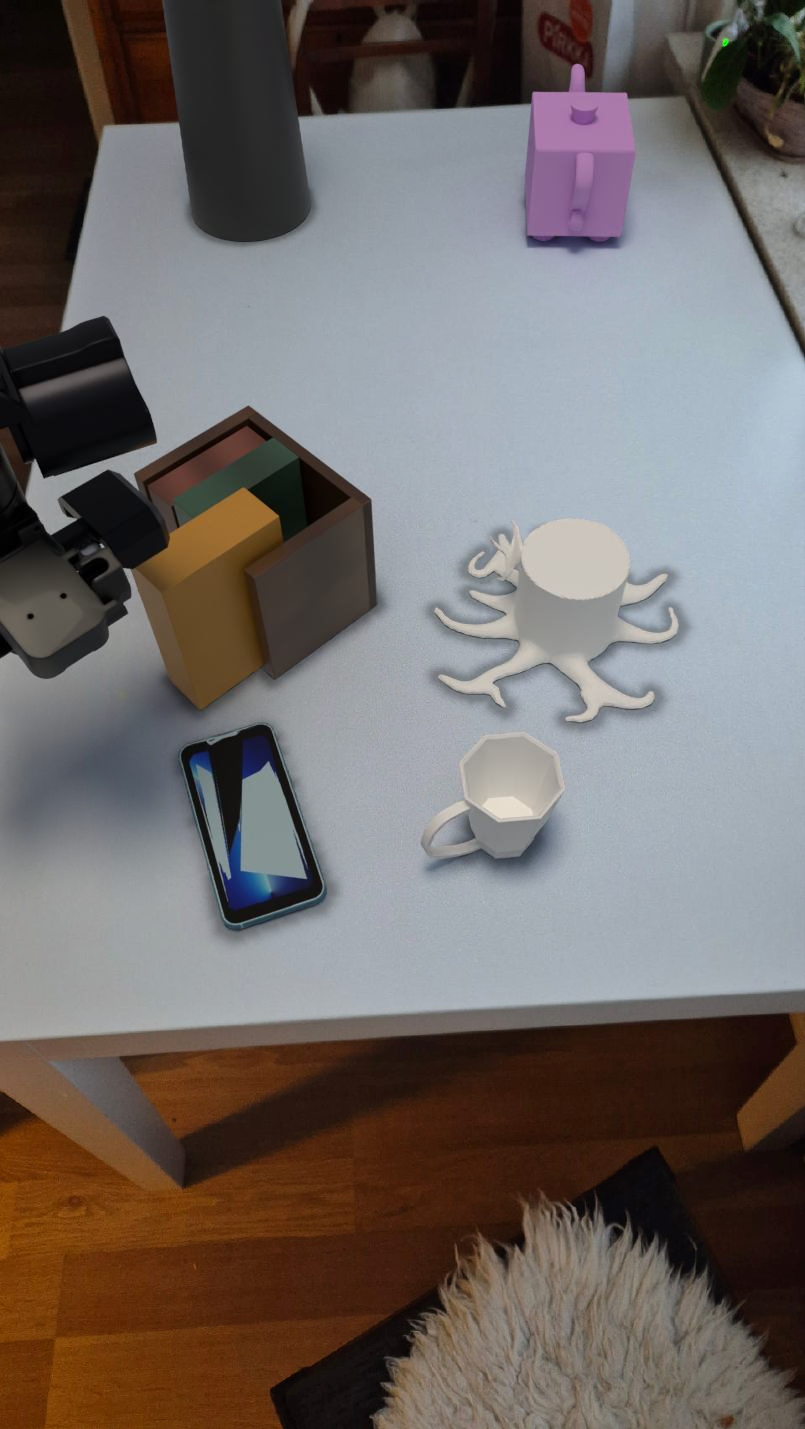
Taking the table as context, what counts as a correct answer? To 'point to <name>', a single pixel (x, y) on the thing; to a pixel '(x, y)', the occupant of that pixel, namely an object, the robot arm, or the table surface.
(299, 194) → the vase
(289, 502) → the bookshelf
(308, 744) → the table surface
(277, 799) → the smartphone
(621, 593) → the tree stump
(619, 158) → the teapot
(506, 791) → the cup
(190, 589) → the ochre book
